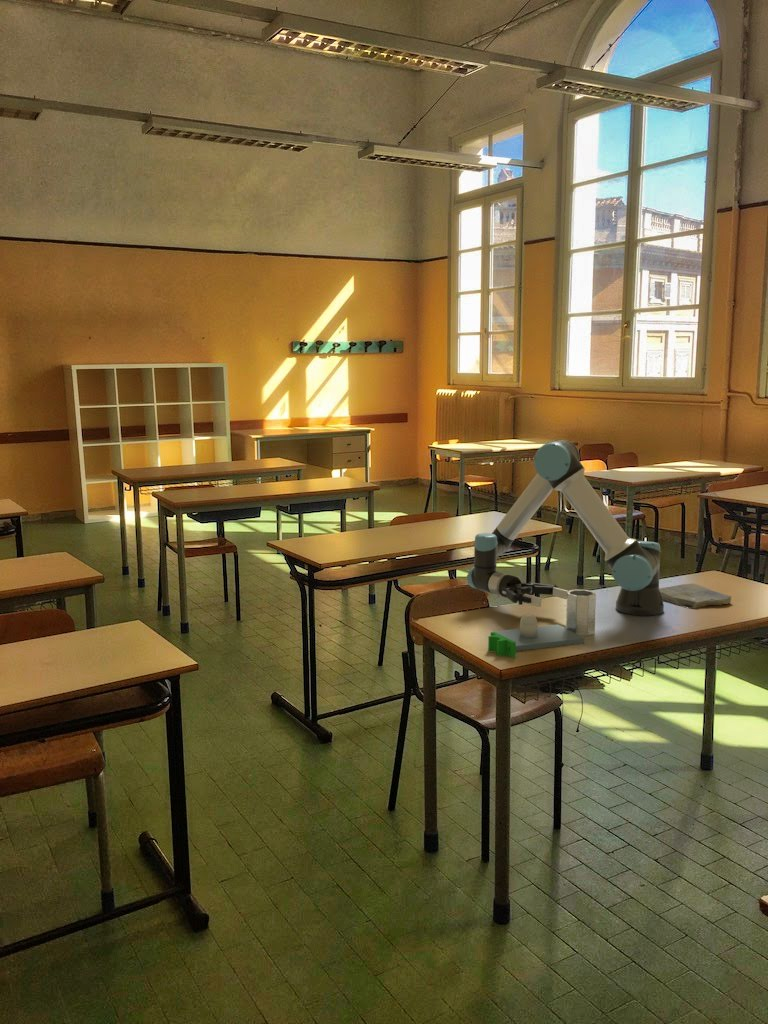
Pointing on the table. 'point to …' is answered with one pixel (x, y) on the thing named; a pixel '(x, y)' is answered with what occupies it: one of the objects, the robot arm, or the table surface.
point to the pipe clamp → (501, 645)
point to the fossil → (693, 596)
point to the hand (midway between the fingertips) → (555, 599)
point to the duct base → (539, 635)
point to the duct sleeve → (581, 612)
